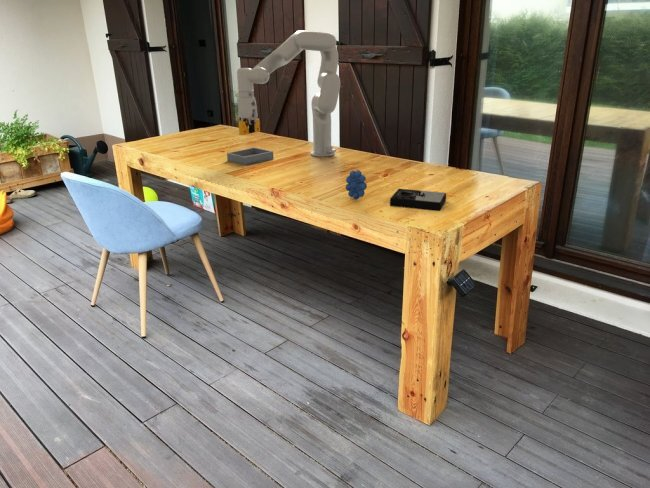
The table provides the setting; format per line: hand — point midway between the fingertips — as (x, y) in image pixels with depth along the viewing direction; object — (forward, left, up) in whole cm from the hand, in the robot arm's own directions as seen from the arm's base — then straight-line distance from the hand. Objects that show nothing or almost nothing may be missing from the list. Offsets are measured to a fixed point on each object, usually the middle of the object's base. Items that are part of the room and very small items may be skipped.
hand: (248, 131), depth 266 cm
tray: (0, 0, -14) cm, 14 cm away
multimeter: (-104, +3, -15) cm, 106 cm away
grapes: (-84, +14, -15) cm, 86 cm away
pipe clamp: (0, 0, -1) cm, 1 cm away
